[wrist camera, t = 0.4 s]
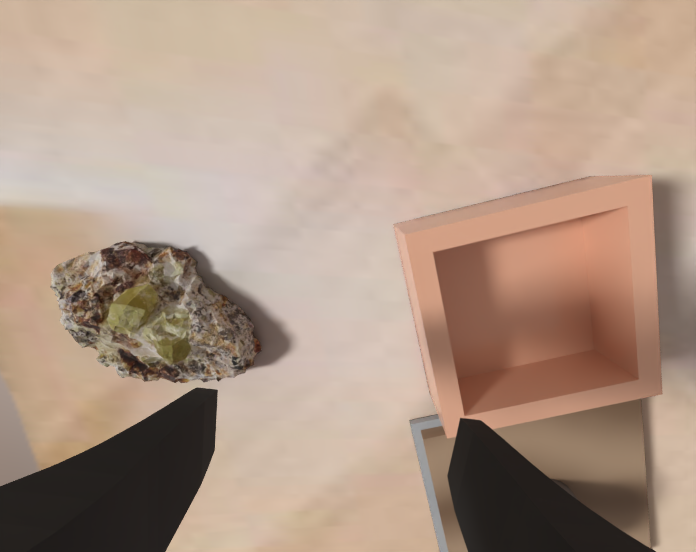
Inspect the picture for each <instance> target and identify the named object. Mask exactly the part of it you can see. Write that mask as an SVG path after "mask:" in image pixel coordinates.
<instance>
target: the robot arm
mask: <svg viewBox="0 0 696 552" xmlns="http://www.w3.org/2000/svg"><path fill="white" fill-rule="evenodd" d="M217 393H218V390H214V389H205V388H195V389H193V390H191V391H190V392H188V393H186V394H185V395H183V396H182V397H180V398H178V399H177V400H175V401H173V402H172V403H170V404H169V405H167V406H165V407H164V408H162V409H161V410H159V411H157V412H156V413H154V414H152V415H151V416H149V417H147V418H146V419H144V420H142V421H141V422H139V423H137V424H135V425H134V426H132V427H130V428H128V429H126V430H124V431H123V432H121V433H119V434H117V435H115V436H114V437H112V438H110V439H108V440H106V441H104V442H103V443H101V444H99V445H97V446H95V447H93V448H91V449H89V450H86V451H84V452H82V453H80V454H78V455H76V456H74V457H71V458H69V459H67V460H65V461H63V462H60V463H58V464H56V465H53V466H51V467H49V468H46V469H44V470H41V471H39V472H36V473H33V474H31V475H28V476H26V477H23V478H21V479H18V480H16V481H13V482H10V483H8V484H5V485H3V486H0V552H165V551H166V549H167V547H168V546H169V544H170V542H171V540H172V538H173V536H174V534H175V533H176V531H177V529H178V527H179V525H180V523H181V521H182V520H183V518H184V516H185V514H186V512H187V510H188V508H189V506H190V505H191V503H192V501H193V499H194V497H195V495H196V493H197V491H198V489H199V488H200V486H201V484H202V481H203V479H204V476H205V474H206V471H207V469H208V466H209V464H210V461H211V458H212V456H213V453H214V450H215V432H216V412H217ZM447 477H448V482H449V487H450V493H451V497H452V502H453V506H454V511H455V514H456V517H457V520H458V523H459V526H460V529H461V532H462V535H463V538H464V541H465V544H466V547H467V550H468V552H656V551H654V550H652V549H651V548H649V547H647V546H646V545H644V544H642V543H641V542H639V541H638V540H636V539H634V538H633V537H631V536H630V535H628V534H626V533H625V532H623V531H622V530H620V529H619V528H617V527H616V526H614V525H613V524H611V523H610V522H608V521H607V520H605V519H604V518H603V517H601V516H600V515H598V514H597V513H595V512H594V511H592V510H591V509H589V508H588V507H587V506H585V505H584V504H583V503H581V502H580V501H578V500H577V499H576V498H574V497H573V496H572V495H570V494H569V493H568V492H567V491H565V490H564V489H563V488H561V487H560V486H559V485H558V484H556V483H555V482H554V481H552V480H551V479H550V478H549V477H548V476H546V475H545V474H544V473H543V472H541V471H540V470H539V469H538V468H537V467H535V466H534V465H533V464H532V463H531V462H530V461H528V460H527V459H526V458H525V457H524V456H522V455H521V454H520V453H519V452H518V451H517V450H516V449H514V448H513V447H512V446H511V445H510V444H509V443H508V442H506V441H505V440H504V439H503V438H502V437H501V436H499V435H498V434H497V433H496V432H495V431H494V430H492V429H491V428H490V427H489V426H488V425H486V424H485V423H484V422H482V421H481V420H475V419H467V418H460V421H459V426H458V430H457V435H456V439H455V443H454V448H453V452H452V457H451V461H450V466H449V470H448V475H447Z"/></svg>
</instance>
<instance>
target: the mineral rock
mask: <svg viewBox="0 0 696 552" xmlns="http://www.w3.org/2000/svg"><path fill="white" fill-rule="evenodd" d="M196 264H197V262H196V261H195V260H194V259H193V258H192V257H190V255H189V254H188V252H183V251H182V250H180V249H178V250H174V249H173V248H172V247H170V246H169V247H166V248H156V247H150V248H147V246H145V245H143V244H137V243H135V242H132V243H129V242H126V241H125V242H120V243H116V244H114V245H112V246H110V247H109V248H106V249H103V250H100V251H97V252H88V253H85V254H82V255H80V256H78V257H76V258H73V259H70V260H68V261H66V262H63V263H61V264H59V265H57V266H56V267H55V268H54V269H53V271H52V273H51V277H52V285H51V288H52V289H53V290H54V291H55V292H56V294H55V295H56V296H58V299H57V301H59V308H60V309H61V311H62V316H61V319H60V321H61V323H62V324H63V326H64V328H65V330H68V331H69V333H70V334H71V335H72V336H73V338H74V339H75V340H76V342H78V343H79V345H81V346H82V347H83V348H84V347H87V346H88V347H91V348H95V349H96V350H97V351H98V352H99V357H98V358H97V359H96V360H97V361H98V362H99V363H100V364H102V365H104V366H106V367H108V366H109V365H111V366H114V367H115V368H116V371H117V373H118V374H119V375H120V376H121V377H122V378H124V377H127V376H132V377H133V378H139V379H142V380H143V381H144V382H145V381H152V380H159V379H160V378H162V379H167V380H169V381H172V382H174V383H176V382H178V381H179V382H180V383H185V382H188V381H191V380H195V379H201V380H202V381H203V382H207V381H209V380H214V379H217V381H220V380H221V379H222V378H225V377H233V378H234V377H235V376H237V375H239V374H242V373H245V371H246V369H247V368H248V367H249V366H252V365H254V357H255V355H256V354H257V353H259V352H260V351H261V345H260V343H259V341H258V339H256V338H255V337H254V336H253V329H254V325H253V324H252V322H251V320H250V319H249V318H248V317H247V316H246V314H245V312H243V311H242V310H241V308H240V307H239V306H237V305H236V304H234V303H233V302H230V301H229V300H228V298H227V297H225V296H223V295H221V294H218V293H216V292H214V291H213V290H212V289H210V288H209V287H208V286H206V285H205V284H204V283H203V280H202V277H201V276H198V274H197V272H196V270H195V268H196Z"/></svg>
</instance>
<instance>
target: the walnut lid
mask: <svg viewBox="0 0 696 552" xmlns="http://www.w3.org/2000/svg"><path fill="white" fill-rule="evenodd" d="M492 430H494V431H495V432H496V433H497V434H498V435H499V436H501V437H502V438H503V439H504V440H505V441H506V442H508V443H509V444H510V445H511V446H512V447H513V448H514V449H516V450H517V451H518V452H519V453H520V454H521V455H522V456H524V457H525V458H526V459H527V460H528V461H530V462H531V463H532V464H533V465H534V466H535V467H537V468H538V469H539V470H540V471H541V472H543V473H544V474H545V475H546V476H548V477H549V478H550V479H551V480H552V481H554V482H555V483H556V484H558V485H559V486H560V487H561V488H563V489H564V490H565V491H567V492H568V493H569V494H570V495H572V496H573V497H574V498H576V499H577V500H578V501H580V502H581V503H583V504H584V505H585V506H587V507H588V508H589V509H591V510H592V511H594V512H595V513H597V514H598V515H600V516H601V517H603V518H604V519H605V520H607V521H608V522H610V523H611V524H613V525H614V526H616V527H617V528H619V529H620V530H622V531H623V532H625V533H626V534H628V535H630V536H631V537H633V538H634V539H636V540H638V541H639V542H641V543H642V544H644V545H646V546H647V547H649V548H651V545H650V529H649V514H648V498H647V482H646V467H645V451H644V436H643V420H642V404H641V399H636V400H631V401H627V402H622V403H617V404H612V405H607V406H603V407H598V408H593V409H588V410H583V411H578V412H574V413H569V414H564V415H559V416H554V417H549V418H545V419H540V420H535V421H530V422H525V423H521V424H516V425H511V426H506V427H501V428H496V429H492ZM421 434H422V439H423V443H424V447H425V452H426V456H427V460H428V465H429V469H430V474H431V478H432V482H433V487H434V491H435V496H436V500H437V504H438V509H439V513H440V518H441V522H442V526H443V531H444V535H445V540H446V544H447V548H448V552H468V550H467V547H466V544H465V541H464V538H463V535H462V532H461V529H460V526H459V523H458V520H457V517H456V514H455V511H454V506H453V502H452V497H451V493H450V487H449V482H448V477H447V475H448V470H449V466H450V461H451V457H452V452H453V448H454V443H455V439H456V437H453V438H448V439H447V437H446V434H445V432H444V429H443V426H438V427H433V428H429V429H424V430H421Z"/></svg>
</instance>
